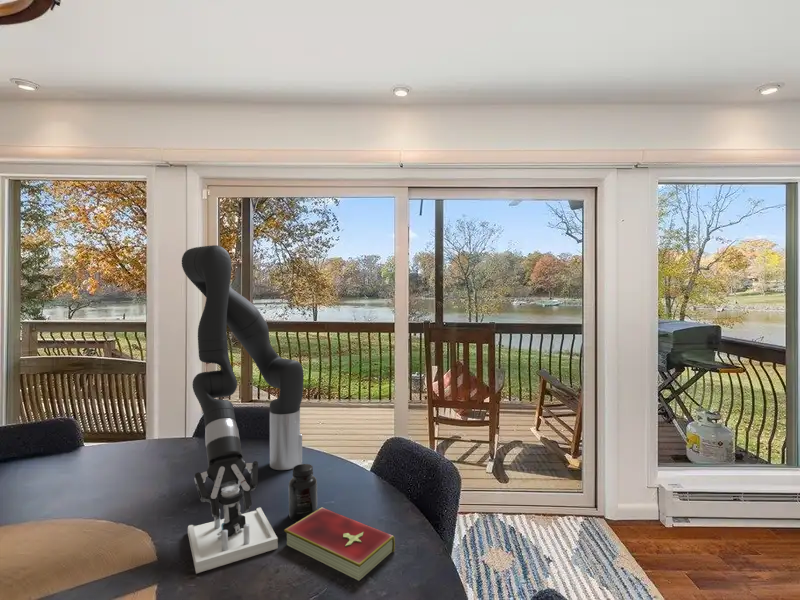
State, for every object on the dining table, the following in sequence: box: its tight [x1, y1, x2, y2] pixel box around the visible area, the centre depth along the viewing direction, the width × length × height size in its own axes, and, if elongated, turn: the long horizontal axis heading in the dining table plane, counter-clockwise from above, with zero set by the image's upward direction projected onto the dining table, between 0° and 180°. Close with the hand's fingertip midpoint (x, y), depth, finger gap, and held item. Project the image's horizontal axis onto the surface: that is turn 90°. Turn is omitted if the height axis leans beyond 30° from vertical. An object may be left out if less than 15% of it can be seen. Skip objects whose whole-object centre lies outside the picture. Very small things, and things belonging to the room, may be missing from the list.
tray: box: [187, 506, 279, 574], centre depth 96 cm, size 16×16×5 cm
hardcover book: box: [283, 507, 396, 582], centre depth 94 cm, size 12×21×4 cm, turn 56°
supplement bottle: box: [288, 463, 318, 523], centre depth 106 cm, size 7×7×12 cm
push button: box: [217, 484, 246, 539], centre depth 96 cm, size 7×5×10 cm
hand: (232, 514), depth 94 cm, fingers open, 5 cm apart
